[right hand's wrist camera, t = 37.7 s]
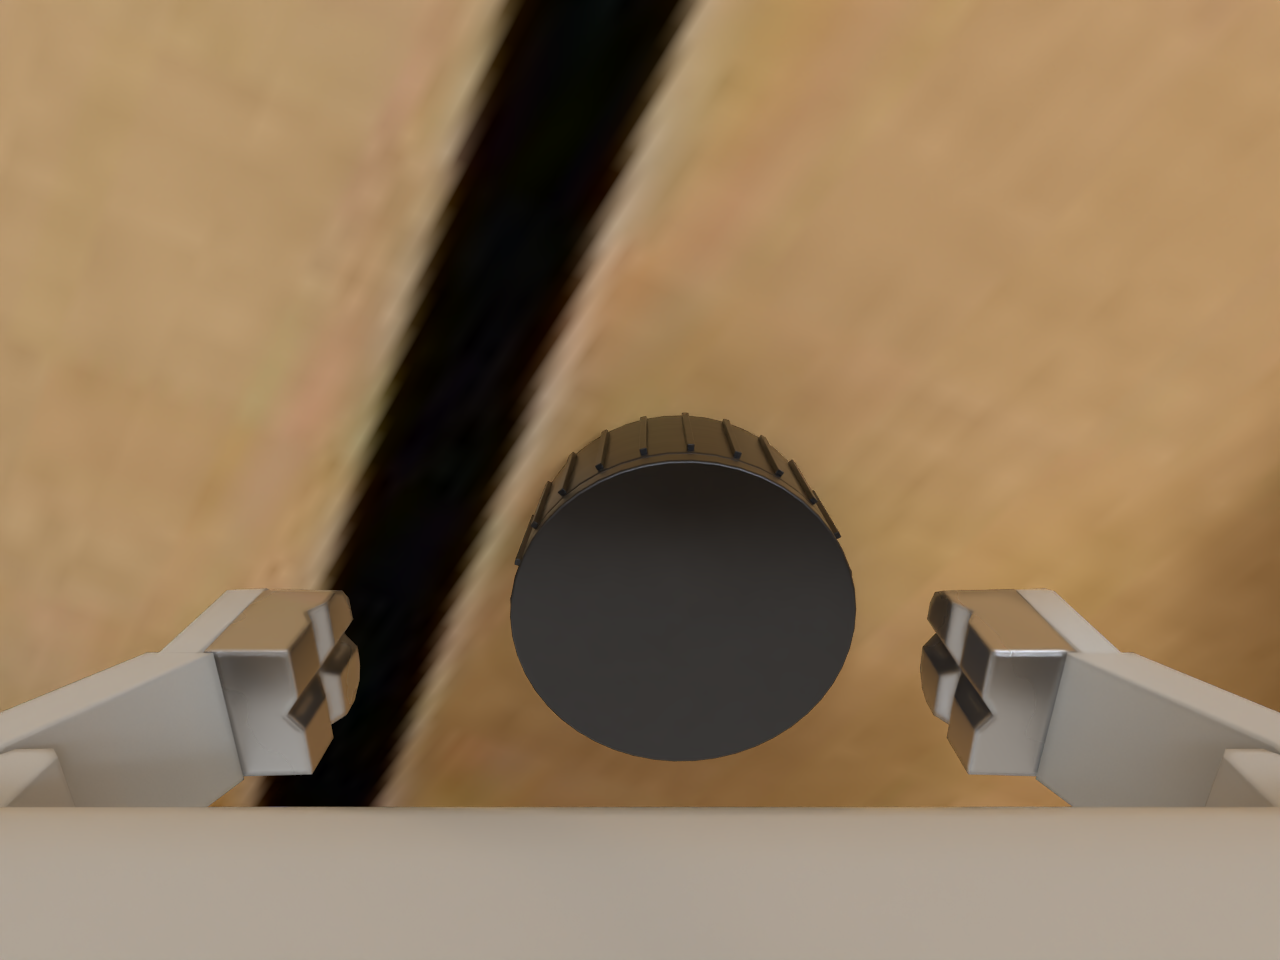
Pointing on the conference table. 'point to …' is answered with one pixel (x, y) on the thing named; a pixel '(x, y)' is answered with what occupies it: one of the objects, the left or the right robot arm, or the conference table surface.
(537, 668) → the lid
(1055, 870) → the right robot arm
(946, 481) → the conference table surface
